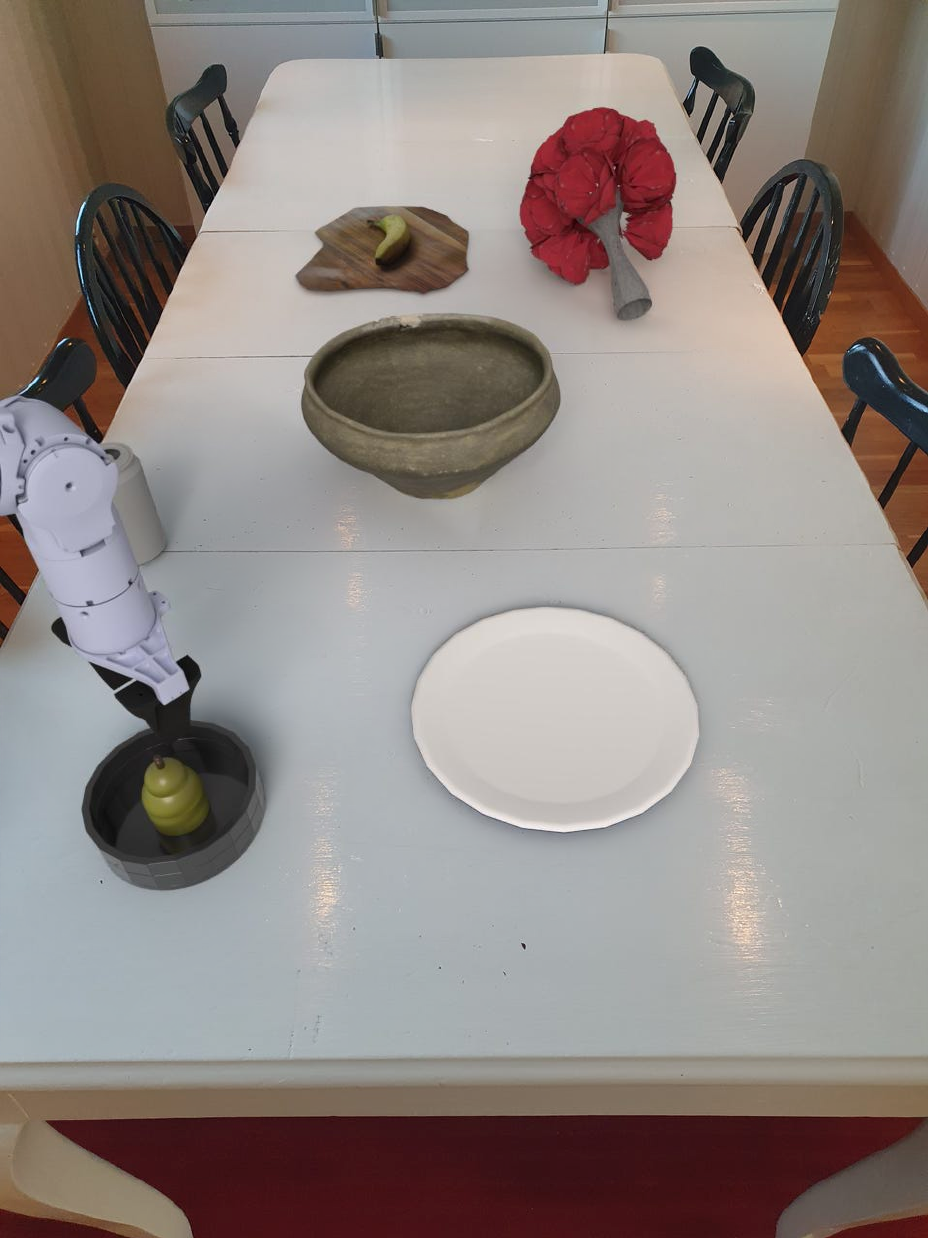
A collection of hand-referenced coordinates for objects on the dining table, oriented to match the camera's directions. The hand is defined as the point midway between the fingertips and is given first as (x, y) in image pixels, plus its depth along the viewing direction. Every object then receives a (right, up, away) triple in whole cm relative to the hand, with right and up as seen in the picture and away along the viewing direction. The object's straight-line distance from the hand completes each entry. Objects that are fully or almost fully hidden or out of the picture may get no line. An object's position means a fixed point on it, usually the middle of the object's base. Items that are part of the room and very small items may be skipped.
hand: (149, 708), depth 69 cm
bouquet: (+44, +58, +69) cm, 101 cm away
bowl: (+21, +24, +36) cm, 48 cm away
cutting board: (+11, +68, +80) cm, 105 cm away
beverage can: (-11, +14, +27) cm, 32 cm away
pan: (+1, -9, +4) cm, 10 cm away
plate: (+32, -2, +11) cm, 34 cm away
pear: (+1, -9, +3) cm, 9 cm away
